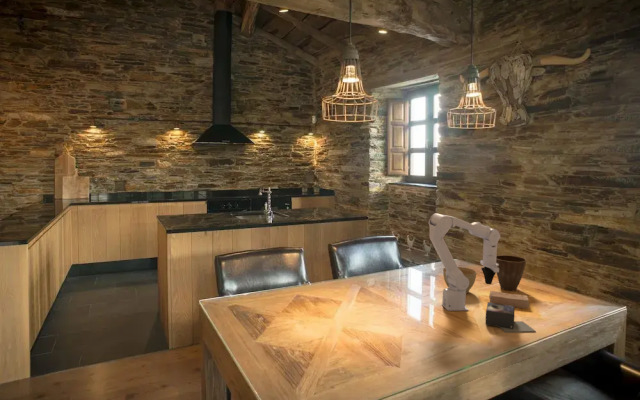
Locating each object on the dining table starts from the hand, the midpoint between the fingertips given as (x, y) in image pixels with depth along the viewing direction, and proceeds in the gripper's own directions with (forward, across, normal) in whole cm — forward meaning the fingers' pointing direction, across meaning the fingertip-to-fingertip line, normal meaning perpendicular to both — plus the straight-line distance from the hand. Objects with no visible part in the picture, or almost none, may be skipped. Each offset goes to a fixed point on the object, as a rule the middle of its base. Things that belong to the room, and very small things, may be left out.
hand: (488, 283), depth 189 cm
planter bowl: (+11, +21, +5) cm, 24 cm away
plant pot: (+11, +25, -23) cm, 36 cm away
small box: (+7, -16, +2) cm, 17 cm away
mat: (+10, -24, 0) cm, 26 cm away
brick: (+11, +2, -11) cm, 16 cm away
